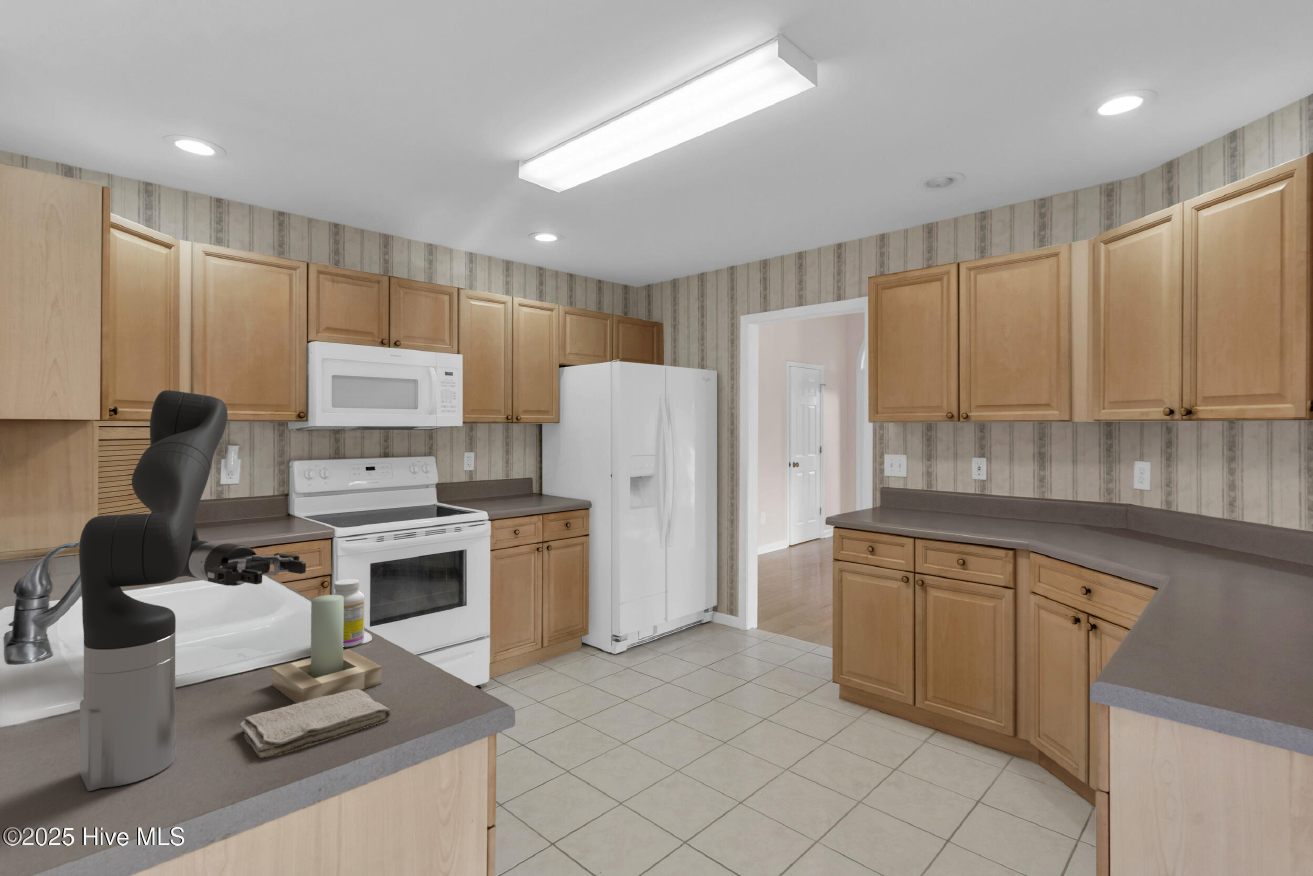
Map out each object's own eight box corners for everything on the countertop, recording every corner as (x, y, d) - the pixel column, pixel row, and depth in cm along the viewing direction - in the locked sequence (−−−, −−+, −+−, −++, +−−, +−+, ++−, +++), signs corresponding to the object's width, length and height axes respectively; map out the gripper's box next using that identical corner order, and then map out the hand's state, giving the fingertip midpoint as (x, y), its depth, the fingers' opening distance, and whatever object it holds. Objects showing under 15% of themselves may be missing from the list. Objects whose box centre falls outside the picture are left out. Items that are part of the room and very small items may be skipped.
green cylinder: (317, 692, 108) (318, 604, 107) (305, 684, 111) (306, 598, 111) (348, 684, 111) (348, 598, 111) (335, 676, 115) (336, 593, 114)
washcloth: (235, 735, 94) (236, 714, 94) (361, 699, 107) (361, 681, 107) (260, 766, 85) (260, 743, 85) (392, 723, 98) (392, 703, 98)
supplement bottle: (331, 639, 134) (332, 578, 134) (366, 636, 136) (366, 576, 136) (325, 650, 128) (326, 586, 127) (361, 647, 130) (362, 584, 129)
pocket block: (302, 707, 102) (302, 688, 102) (271, 685, 110) (271, 667, 110) (381, 683, 112) (381, 666, 112) (348, 664, 120) (348, 648, 120)
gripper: (183, 550, 115) (244, 560, 109) (259, 537, 128) (317, 545, 122) (183, 591, 115) (244, 603, 109) (259, 574, 128) (317, 584, 122)
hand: (283, 572), depth 115 cm, fingers open, 8 cm apart
